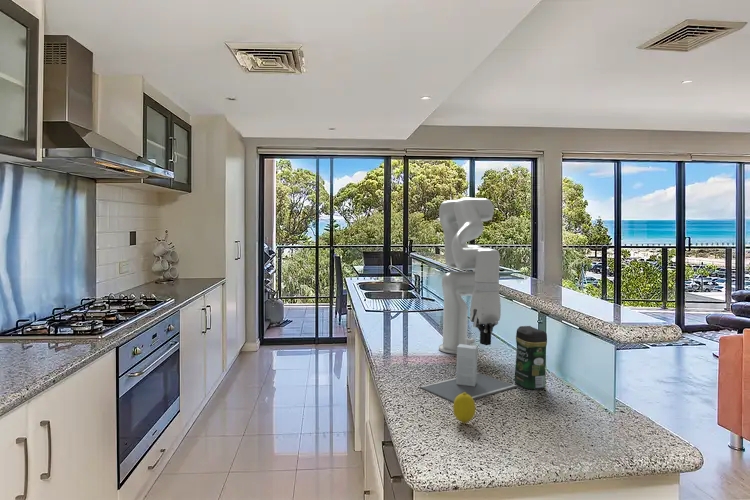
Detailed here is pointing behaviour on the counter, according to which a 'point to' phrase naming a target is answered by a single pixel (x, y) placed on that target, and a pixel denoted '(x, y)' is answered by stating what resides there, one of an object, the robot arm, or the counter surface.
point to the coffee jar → (530, 357)
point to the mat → (468, 388)
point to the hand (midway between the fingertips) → (485, 344)
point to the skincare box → (466, 365)
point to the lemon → (464, 407)
